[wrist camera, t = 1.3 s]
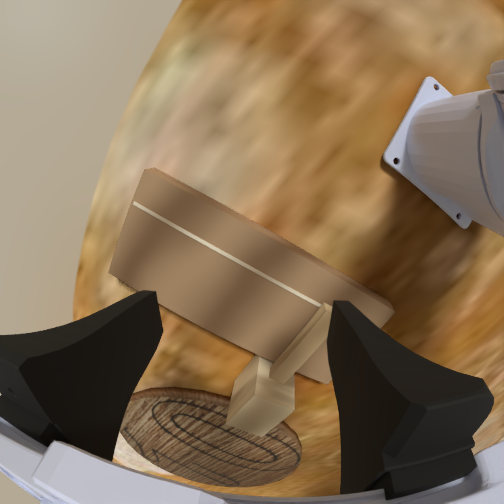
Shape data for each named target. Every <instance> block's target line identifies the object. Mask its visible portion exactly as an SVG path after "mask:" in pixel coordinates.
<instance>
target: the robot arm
mask: <svg viewBox="0 0 504 504" xmlns="http://www.w3.org/2000/svg"><path fill="white" fill-rule="evenodd" d="M486 78H487V81H488V83H489V85H490V87H491V89H488V90H482V91H477V92H471V93H466V94H461V95H456V96H452V95H451V94H450V93H449V92H448V91H447V90H446V89H445V88H444V87H443V86H442V85H441V84H439V83H438V82H437V81H436V80H435V79H434V78H432V77H426V78H425V79H424V81H423V83H422V85H421V86H420V88H419V90H418V92H417V94H416V96H415V98H414V100H413V102H412V104H411V105H410V107H409V109H408V111H407V113H406V115H405V116H404V118H403V120H402V122H401V124H400V125H399V127H398V129H397V131H396V133H395V134H394V136H393V138H392V140H391V141H390V143H389V145H388V147H387V148H386V150H385V152H384V154H383V159H384V161H385V162H386V163H387V164H388V165H390V166H391V167H392V168H394V169H395V170H396V171H398V172H399V173H400V174H401V175H403V176H404V177H405V178H406V179H408V180H409V181H410V182H411V183H412V184H414V185H415V186H416V187H417V188H418V189H420V190H421V191H422V192H423V193H424V194H426V195H427V196H428V197H429V198H430V199H431V200H432V201H433V202H435V203H436V204H437V205H438V206H439V207H440V208H441V209H442V210H443V211H444V212H446V213H447V214H448V215H449V216H450V217H451V218H452V219H453V220H454V221H455V222H456V223H457V224H458V225H459V226H460V227H462V228H463V229H466V228H468V226H469V225H470V223H471V221H472V220H473V221H475V222H477V223H478V224H480V225H482V226H484V227H486V228H488V229H490V230H492V231H494V232H495V233H497V234H499V235H501V236H503V237H504V60H500V61H496V62H493V63H492V64H491V67H490V74H488V75H487V77H486ZM434 85H435V86H436V87H437V90H435V89H434ZM394 158H397V159H398V163H397V164H396V165H395V164H394V162H393V160H394ZM458 213H459V216H458V218H457V217H456V216H457V214H458ZM162 333H163V327H162V321H161V316H160V310H159V305H158V299H157V293H156V291H149V290H142V291H139V292H137V293H135V294H132V295H130V296H128V297H126V298H124V299H122V300H120V301H118V302H116V303H114V304H112V305H110V306H108V307H106V308H104V309H102V310H100V311H98V312H96V313H94V314H91V315H89V316H87V317H85V318H82V319H80V320H77V321H74V322H71V323H69V324H66V325H63V326H59V327H55V328H51V329H47V330H43V331H38V332H32V333H26V334H15V335H0V393H1V394H2V395H1V396H0V471H1V472H2V473H4V474H5V475H6V476H7V477H8V478H10V479H11V480H12V481H13V482H15V483H16V484H17V485H18V486H20V487H21V488H22V489H24V490H25V491H26V492H28V493H29V494H31V495H32V496H33V497H35V498H36V499H38V500H39V501H41V502H40V504H504V441H500V442H498V443H496V444H494V445H492V446H490V447H487V448H485V449H483V450H481V451H479V452H478V453H476V454H475V455H473V453H472V450H471V448H473V447H474V446H475V442H474V440H473V437H472V436H473V435H474V433H475V432H476V431H477V430H478V428H479V427H480V426H481V425H482V423H483V422H484V421H485V419H486V418H487V417H488V415H489V413H490V412H491V409H492V407H493V404H494V397H493V395H492V393H491V392H490V390H489V388H488V387H487V385H486V383H485V382H484V380H483V379H482V378H478V377H474V376H470V375H467V374H463V373H459V372H456V371H453V370H451V369H448V368H445V367H443V366H440V365H438V364H436V363H433V362H431V361H429V360H427V359H425V358H423V357H421V356H419V355H418V354H416V353H414V352H412V351H411V350H409V349H408V348H406V347H404V346H403V345H401V344H400V343H398V342H397V341H395V340H394V339H393V338H391V337H390V336H389V335H387V334H386V333H385V332H384V331H382V330H381V329H380V328H379V327H377V326H376V325H375V324H374V323H373V322H372V321H371V320H369V319H368V318H367V317H366V316H365V315H364V314H363V313H362V312H361V311H360V310H359V309H357V308H356V307H355V306H354V305H353V304H352V303H351V302H349V301H345V300H333V306H332V313H331V319H330V325H329V330H328V336H327V354H328V363H329V368H330V372H331V377H332V381H333V386H334V391H335V395H336V400H337V405H338V411H339V420H340V436H341V486H340V495H333V496H319V497H262V496H248V495H237V494H228V493H220V492H214V491H207V490H204V489H202V488H199V487H195V486H192V485H188V484H185V483H181V482H178V481H174V480H171V479H166V478H162V477H159V476H155V475H151V474H148V473H144V472H141V471H138V470H134V469H131V468H128V467H125V466H122V465H119V464H117V463H114V462H112V460H113V455H114V450H115V446H116V442H117V438H118V434H119V431H120V427H121V424H122V421H123V418H124V415H125V412H126V409H127V407H128V404H129V401H130V399H131V396H132V394H133V392H134V390H135V387H136V386H137V384H138V382H139V380H140V378H141V377H142V375H143V373H144V371H145V369H146V368H147V366H148V364H149V362H150V360H151V359H152V357H153V355H154V353H155V351H156V349H157V347H158V344H159V342H160V339H161V336H162Z"/></svg>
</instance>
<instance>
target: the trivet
mask: <svg viewBox="0 0 504 504" xmlns="http://www.w3.org/2000/svg"><path fill="white" fill-rule="evenodd" d="M230 401H231V397H227V396H223V395H219V394H215V393H211V392H207V391H203V390H194V389H186V388H178V387H165V388H149V389H146V390H142V391H139V392H136V393H133V394H132V396H131V399H130V401H129V404H128V407H127V409H126V412H125V415H124V418H123V421H122V424H121V427H120V433H121V434H122V436H123V437H124V439H125V440H126V441H127V443H128V444H129V445H130V446H131V447H132V448H133V449H134V450H135V451H136V452H137V453H139V454H140V455H141V456H143V457H144V458H145V459H147V460H148V461H150V462H151V463H153V464H154V465H156V466H158V467H160V468H162V469H164V470H166V471H168V472H170V473H172V474H175V475H178V476H180V477H183V478H186V479H189V480H192V481H196V482H200V483H204V484H209V485H216V486H224V487H252V486H259V485H265V484H269V483H272V482H276V481H279V480H281V479H283V478H285V477H287V476H288V475H290V474H292V473H293V472H294V471H295V469H296V468H297V467H298V466H299V465H300V460H301V443H300V441H299V438H298V436H297V434H296V432H295V431H293V430H292V429H291V428H290V427H289V426H288V425H287V424H286V423H285V422H284V421H281V422H280V423H279V424H278V425H276V426H275V427H274V428H273V429H271V430H270V431H269V432H268V433H266V434H265V435H264V436H262V437H260V436H257V435H254V434H251V433H248V432H245V431H243V430H240V429H237V428H235V427H232V426H229V425H227V424H226V419H227V415H228V410H229V405H230Z"/></svg>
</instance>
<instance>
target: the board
mask: <svg viewBox="0 0 504 504" xmlns="http://www.w3.org/2000/svg"><path fill="white" fill-rule="evenodd" d="M108 273H110V274H112V275H113V276H115V277H116V278H118V279H119V280H121V281H123V282H124V283H126V284H127V285H129V286H131V287H132V288H134V289H135V290H137V291H142V290H149V291H156V293H157V299H158V303H159V304H161V305H163V306H164V307H166V308H168V309H170V310H171V311H173V312H175V313H177V314H178V315H180V316H182V317H184V318H186V319H188V320H189V321H191V322H193V323H195V324H197V325H199V326H201V327H202V328H204V329H206V330H208V331H210V332H212V333H214V334H216V335H218V336H220V337H222V338H224V339H226V340H228V341H230V342H232V343H234V344H236V345H238V346H240V347H242V348H244V349H246V350H248V351H250V352H253V353H255V354H257V355H259V356H261V357H263V358H266V359H268V360H270V361H272V362H274V363H275V361H276V360H277V359H278V358H279V357H280V356H281V354H282V353H283V352H284V351H285V350H286V349H287V347H288V346H289V345H290V344H291V343H292V341H293V340H294V339H295V338H296V337H297V335H298V334H299V333H300V332H301V331H302V329H303V328H304V327H305V326H306V324H307V323H308V322H309V321H310V319H311V318H312V317H313V316H314V314H315V313H316V312H317V311H318V309H319V308H320V307H321V305H322V304H323V303H324V302H325V303H326V304H328V305H330V306H333V300H345V301H349V302H351V303H352V304H353V305H354V306H355V307H356V308H357V309H359V310H360V311H361V312H362V313H363V314H364V315H365V316H366V317H367V318H368V319H369V320H371V321H372V322H373V323H374V324H375V325H376V326H377V327H379V328H380V329H381V328H382V327H383V326H384V325H385V323H386V322H387V321H388V320H389V319H390V318H391V316H392V315H393V314H394V313H395V310H394V308H393V307H392V305H391V303H390V301H388V300H386V299H385V298H383V297H382V296H380V295H378V294H377V293H375V292H373V291H372V290H370V289H368V288H367V287H365V286H363V285H362V284H360V283H359V282H357V281H355V280H354V279H352V278H350V277H348V276H347V275H345V274H343V273H342V272H340V271H338V270H337V269H335V268H333V267H332V266H330V265H328V264H327V263H325V262H323V261H321V260H320V259H318V258H316V257H315V256H313V255H311V254H310V253H308V252H306V251H304V250H303V249H301V248H299V247H297V246H296V245H294V244H292V243H290V242H289V241H287V240H285V239H284V238H282V237H280V236H278V235H276V234H275V233H273V232H271V231H269V230H268V229H266V228H264V227H262V226H261V225H259V224H257V223H255V222H253V221H252V220H250V219H248V218H246V217H245V216H243V215H241V214H239V213H237V212H236V211H234V210H232V209H230V208H228V207H227V206H225V205H223V204H221V203H219V202H217V201H216V200H214V199H212V198H210V197H208V196H206V195H205V194H203V193H201V192H199V191H197V190H195V189H193V188H192V187H190V186H188V185H186V184H184V183H182V182H180V181H179V180H177V179H175V178H173V177H171V176H169V175H167V174H165V173H163V172H162V171H160V170H158V169H156V168H150V169H145V170H144V172H143V174H142V177H141V179H140V182H139V184H138V187H137V189H136V192H135V194H134V197H133V199H132V202H131V205H130V208H129V210H128V213H127V216H126V219H125V221H124V224H123V227H122V230H121V233H120V236H119V239H118V242H117V246H116V249H115V252H114V255H113V259H112V262H111V265H110V269H109V272H108ZM296 372H297V373H300V374H302V375H305V376H307V377H309V378H312V379H314V380H317V381H319V382H322V383H324V384H327V385H328V384H329V383H330V382H331V381H332V377H331V372H330V368H329V363H328V354H327V338H326V339H325V340H324V341H323V343H322V344H321V345H320V346H319V347H318V348H317V349H316V350H315V352H314V353H313V354H312V355H311V356H310V357H309V358H308V359H307V360H306V361H305V362H304V364H303V365H302V366H301V367H300V368H299V369H298V370H297V371H296Z"/></svg>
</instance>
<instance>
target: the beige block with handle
mask: <svg viewBox="0 0 504 504" xmlns="http://www.w3.org/2000/svg"><path fill="white" fill-rule="evenodd" d="M331 313H332V306H330V305H328V304H326V303H325V302H324V303H323V304H322V305H321V307H320V308H319V309H318V311H317V312H316V313H315V314H314V316H313V317H312V318H311V319H310V321H309V322H308V323H307V324H306V326H305V327H304V328H303V329H302V331H301V332H300V333H299V334H298V335H297V337H296V338H295V339H294V340H293V341H292V343H291V344H290V345H289V346H288V347H287V349H286V350H285V351H284V352H283V353H282V354H281V356H280V357H279V358H278V359H277V360H276V361H275V363H274V362H272V361H270V360H268V359H266V358H263V357H261V356H259V355H257V354H256V355H255V356H254V357H253V359H252V360H251V361H250V362H249V364H248V365H247V366H246V367H245V369H244V370H243V371H242V372H241V373H240V375H239V376H238V377H237V378H236V379H235V382H234V387H233V391H232V396H231V401H230V405H229V410H228V415H227V419H226V424H227V425H229V426H232V427H235V428H237V429H240V430H243V431H245V432H248V433H251V434H254V435H257V436H260V437H262V436H264V435H265V434H266V433H268V432H269V431H270V430H271V429H273V428H274V427H275V426H276V425H278V424H279V423H280V422H281V421H283V420H284V419H285V418H286V417H287V416H289V415H290V414H291V413H292V412H293V411H294V410H295V383H294V373H295V372H296V371H297V370H298V369H299V368H300V367H301V366H302V365H303V364H304V362H305V361H306V360H307V359H308V358H309V357H310V356H311V355H312V354H313V353H314V352H315V350H316V349H317V348H318V347H319V346H320V345H321V344H322V343H323V341H324V340H325V339H326V338H327V336H328V330H329V325H330V319H331Z"/></svg>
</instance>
